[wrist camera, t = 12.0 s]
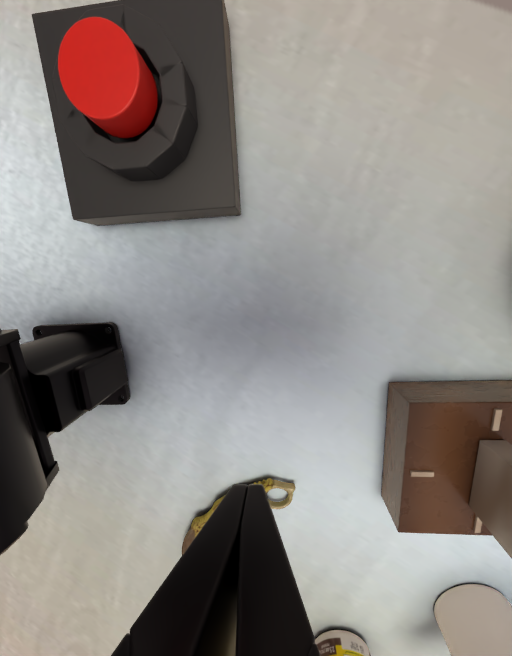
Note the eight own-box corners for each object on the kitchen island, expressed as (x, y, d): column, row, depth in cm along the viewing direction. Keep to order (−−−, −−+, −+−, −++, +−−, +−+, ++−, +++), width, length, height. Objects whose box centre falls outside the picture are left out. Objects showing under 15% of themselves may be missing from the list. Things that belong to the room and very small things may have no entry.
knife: (198, 590, 23) (153, 564, 22) (201, 578, 24) (157, 553, 23) (304, 496, 20) (255, 463, 19) (302, 486, 21) (255, 454, 20)
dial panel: (380, 495, 21) (399, 535, 17) (388, 381, 18) (411, 404, 15) (514, 498, 20) (557, 540, 17) (538, 379, 17) (595, 402, 14)
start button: (95, 142, 13) (67, 123, 11) (80, 57, 12) (48, 21, 10) (163, 135, 13) (145, 114, 11) (152, 46, 12) (131, 9, 10)
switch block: (97, 225, 17) (46, 213, 13) (65, 49, 15) (-8, -27, 11) (241, 215, 17) (230, 198, 13) (229, 25, 14) (211, -65, 10)
